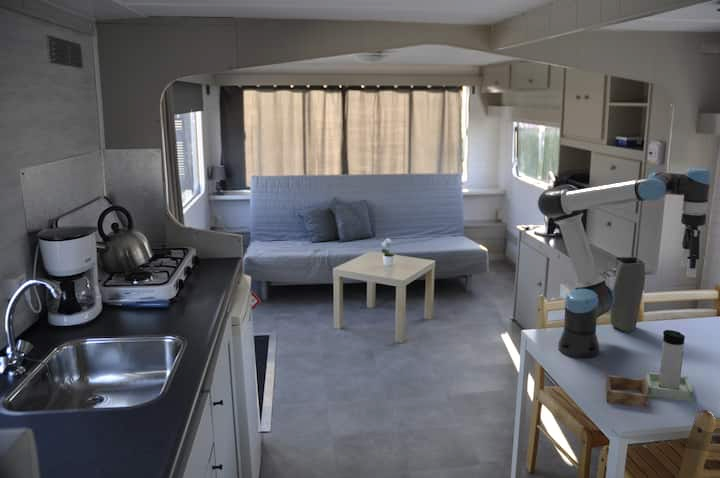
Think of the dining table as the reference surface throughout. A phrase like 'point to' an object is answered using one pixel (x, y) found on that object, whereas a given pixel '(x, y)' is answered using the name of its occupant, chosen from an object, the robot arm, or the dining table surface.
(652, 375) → the tray
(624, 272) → the vase
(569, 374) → the dining table surface
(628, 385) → the holder
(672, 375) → the travel mug
